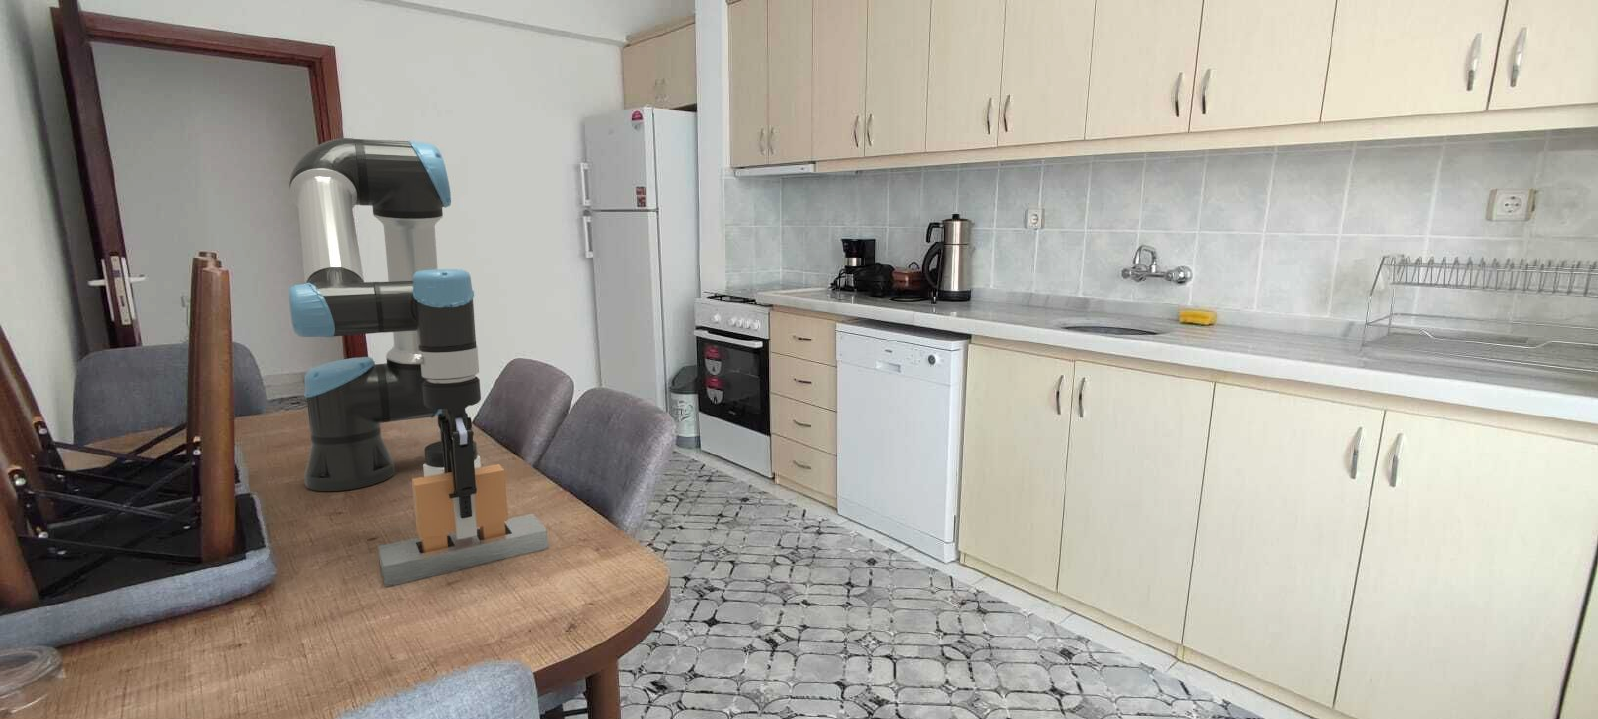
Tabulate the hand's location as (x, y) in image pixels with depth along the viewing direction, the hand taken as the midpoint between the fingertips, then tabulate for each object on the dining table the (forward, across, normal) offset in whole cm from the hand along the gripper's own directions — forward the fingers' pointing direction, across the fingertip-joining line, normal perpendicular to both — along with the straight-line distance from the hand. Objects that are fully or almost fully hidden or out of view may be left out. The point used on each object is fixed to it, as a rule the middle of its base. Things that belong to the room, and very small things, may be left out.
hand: (464, 531), depth 110 cm
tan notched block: (+2, 0, 0) cm, 2 cm away
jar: (+4, -20, +2) cm, 21 cm away
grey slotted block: (+4, 0, 0) cm, 4 cm away
